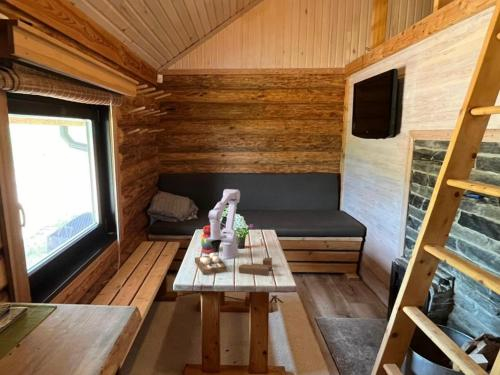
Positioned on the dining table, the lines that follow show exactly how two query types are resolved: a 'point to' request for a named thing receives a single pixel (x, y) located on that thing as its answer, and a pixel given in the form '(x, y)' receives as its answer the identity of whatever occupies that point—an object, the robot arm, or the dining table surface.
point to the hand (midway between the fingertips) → (215, 251)
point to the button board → (210, 266)
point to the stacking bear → (208, 247)
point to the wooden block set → (257, 268)
